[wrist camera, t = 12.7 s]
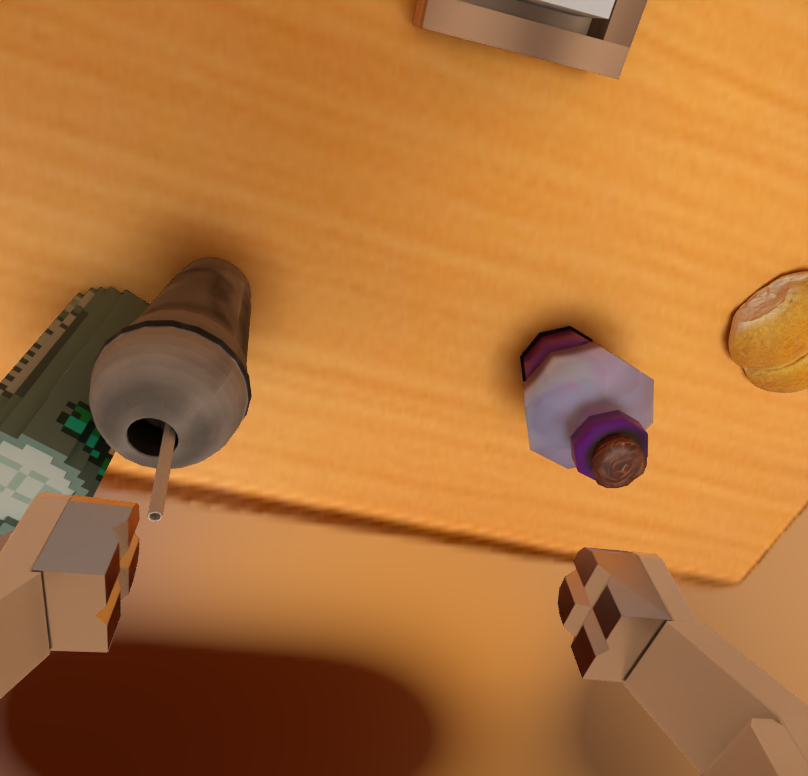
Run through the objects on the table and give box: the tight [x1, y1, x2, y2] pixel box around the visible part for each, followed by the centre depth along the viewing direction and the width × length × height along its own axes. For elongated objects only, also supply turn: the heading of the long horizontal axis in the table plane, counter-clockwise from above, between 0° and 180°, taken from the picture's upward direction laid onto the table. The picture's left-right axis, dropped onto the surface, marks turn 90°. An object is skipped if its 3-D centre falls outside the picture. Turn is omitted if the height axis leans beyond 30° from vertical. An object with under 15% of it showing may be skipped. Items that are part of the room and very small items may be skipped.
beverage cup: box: [89, 258, 251, 521], centre depth 31 cm, size 7×7×20 cm
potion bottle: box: [520, 326, 654, 488], centre depth 39 cm, size 9×9×12 cm
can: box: [0, 286, 149, 536], centre depth 34 cm, size 6×6×15 cm
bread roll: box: [728, 271, 808, 393], centre depth 43 cm, size 8×9×4 cm
